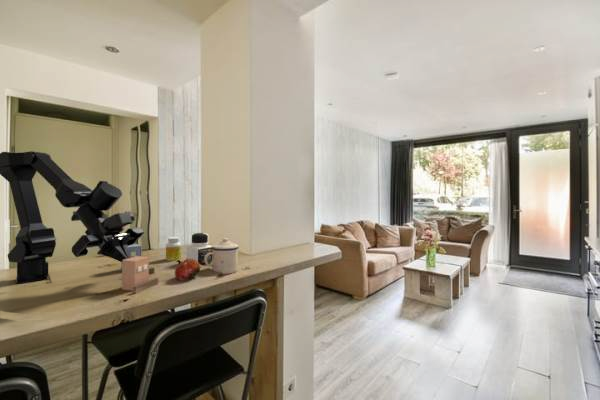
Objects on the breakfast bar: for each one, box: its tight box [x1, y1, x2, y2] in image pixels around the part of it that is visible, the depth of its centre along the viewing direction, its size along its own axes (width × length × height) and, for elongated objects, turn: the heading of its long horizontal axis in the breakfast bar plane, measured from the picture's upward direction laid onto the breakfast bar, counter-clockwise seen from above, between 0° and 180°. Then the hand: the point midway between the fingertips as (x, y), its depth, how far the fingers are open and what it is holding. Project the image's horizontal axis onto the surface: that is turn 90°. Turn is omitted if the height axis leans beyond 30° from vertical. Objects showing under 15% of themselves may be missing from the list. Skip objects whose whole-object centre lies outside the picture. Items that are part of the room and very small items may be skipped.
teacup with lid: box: [204, 237, 239, 275], centre depth 97 cm, size 12×9×12 cm
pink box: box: [121, 255, 150, 292], centre depth 77 cm, size 4×5×8 cm
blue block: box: [120, 243, 142, 271], centre depth 94 cm, size 4×5×8 cm
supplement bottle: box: [165, 236, 182, 262], centre depth 109 cm, size 5×5×10 cm
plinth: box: [132, 277, 159, 294], centre depth 77 cm, size 11×8×3 cm
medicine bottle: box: [185, 232, 213, 267], centre depth 106 cm, size 7×7×12 cm
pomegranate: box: [174, 259, 202, 282], centre depth 86 cm, size 7×7×10 cm
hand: (129, 262), depth 77 cm, fingers closed
